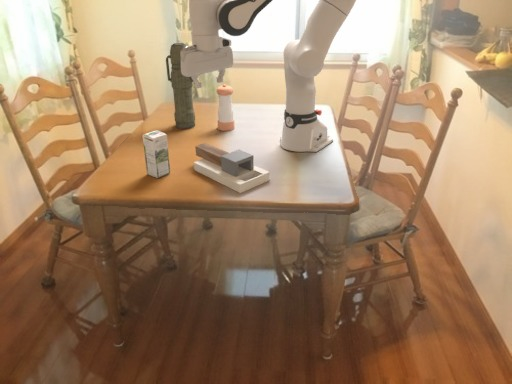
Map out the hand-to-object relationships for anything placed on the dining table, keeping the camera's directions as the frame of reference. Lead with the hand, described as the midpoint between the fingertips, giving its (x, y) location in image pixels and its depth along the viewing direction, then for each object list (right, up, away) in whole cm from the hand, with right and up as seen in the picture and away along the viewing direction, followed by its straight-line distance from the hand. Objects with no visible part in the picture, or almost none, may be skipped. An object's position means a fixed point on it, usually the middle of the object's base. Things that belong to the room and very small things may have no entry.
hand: (209, 85), depth 146 cm
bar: (+1, -26, +2) cm, 26 cm away
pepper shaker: (+3, -9, +41) cm, 42 cm away
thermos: (-15, -8, +43) cm, 47 cm away
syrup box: (-17, -31, -1) cm, 35 cm away
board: (+8, -31, -2) cm, 32 cm away
